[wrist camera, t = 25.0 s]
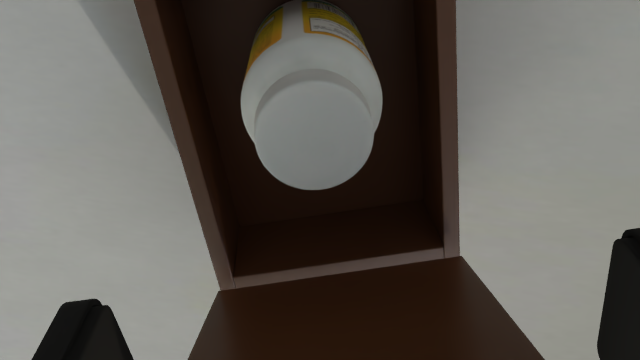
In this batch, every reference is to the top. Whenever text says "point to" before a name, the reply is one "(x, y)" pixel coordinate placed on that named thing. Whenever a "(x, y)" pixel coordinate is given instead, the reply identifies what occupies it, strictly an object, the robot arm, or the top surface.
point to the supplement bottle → (311, 95)
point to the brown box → (327, 204)
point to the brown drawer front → (365, 318)
